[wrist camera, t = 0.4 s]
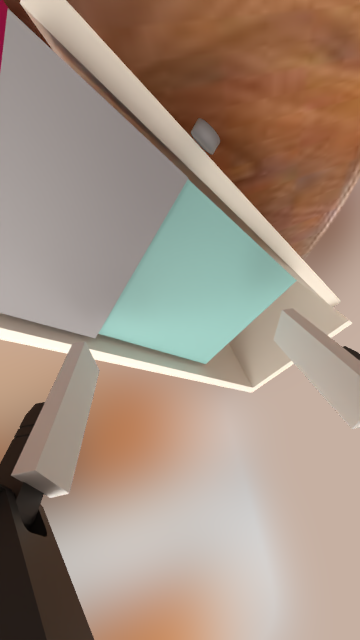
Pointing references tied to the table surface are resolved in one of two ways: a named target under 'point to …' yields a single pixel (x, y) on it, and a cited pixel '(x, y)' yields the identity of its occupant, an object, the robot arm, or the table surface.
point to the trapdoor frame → (176, 144)
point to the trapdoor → (112, 221)
